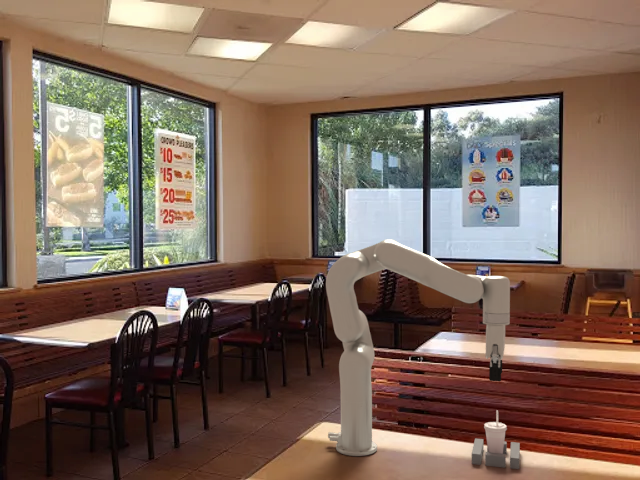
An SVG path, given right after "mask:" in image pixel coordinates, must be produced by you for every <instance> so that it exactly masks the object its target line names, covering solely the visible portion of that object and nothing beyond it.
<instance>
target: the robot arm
mask: <svg viewBox="0 0 640 480" xmlns="http://www.w3.org/2000/svg"><path fill="white" fill-rule="evenodd" d="M385 269H386V270H388V271H391V272H393V273H396V274H399V275H401V276H404V277H406V278H408V279H410V280H413V281H415V282H417V283H419V284H421V285H423V286H426V287H428V288H431V289H433V290H435V291H437V292H440V293H442V294H444V295H446V296H449V297H451V298H453V299H456V300H458V301H461V302H463V303H465V304H474V303H477V302H478V301H480V300H481V299H482V324H483V325H486V328H485V359H486V360H487V359H489V358H490V359H489V361H490V362H489V367H488V368H489V370H488V372H489V373H488V378H489V381H491V382H502V373H503V358H504V353H505V347H506V326H508V325H510V320H511V319H510V318H511V313H510V312H511V308H510V307H511V302H510V301H511V281H510V279H509V277H507V276H502V275H487V276H486V275H485V276H484V275H477V274H465V273H464V272H461V271H458V270H456V269H453V268H451V267H449V266H448V265H445V264H444V263H442V262H441V261H438V260H437V259H436V258H434V257H433V256H431V255H428V254H426V253H423V252H421V251H418V250H416V249H413V248H411V247H408V246H406V245H404V244H401V243H400V242H398V241H397V240H395V239H391V238H389V239H387V238H386V239H383V240H382V241H379V242H378V243H376V244H372V245H369V246H367V247H364V248H361V249H359V250H356V251H353V252H349V253H346V254H344V255H341V256H340V258H339V259H337V260H336V261H335V262H334V263H333V264H332V265H331V266H330V267H329V270H328V272H327V275H326V280H325V290H326V296H327V299H328V305H329V311H330V316H331V320H332V326H333V330H334V334H335V336H336V338H337V339H338V340H340V341H341V342H342V347H343V350H344V351H343V352H342V353H341V356H340V359H339V362H338V363H339V364H338V372H339V383H340V384H339V385H340V387H339V388H340V431H338V433H337V432H333V431H329V432H328V433H327V434H328V435H327V438H328V439H329V441H330V442H336V444H335V449H336V451H337V452H338V453H339V454H343V455H345V456H349V457H351V456H352V457H363V456H369V455H372V454H374V453H375V452H376V451H378V445H377V443H376V442H375V441H373V397H372V396H373V393H372V392H373V391H372V390H373V387H372V366H373V363H374V362H375V355H376V353H375V347H374V344H373V340H372V334H371V332H370V326H369V321H368V318H367V316H366V314H365V313H364V312H363V311H362V310H360V309H359V305H358V301H357V296H356V292H355V289H354V288H355V287H354V285H355V283H356V282H357V281H358V280H360V279H362V278H363V277H366V276H369V275H372V274H374V273H377V272H380V271H383V270H385Z"/></svg>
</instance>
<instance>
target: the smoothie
mask: <svg viewBox="0 0 640 480" xmlns="http://www.w3.org/2000/svg"><path fill="white" fill-rule="evenodd" d="M495 413H496V414H495V416H496V421H488V422H485V423H484V424H483V425H484V426H483V428H484V430H485V436H486V446H487V445H488V452H492V453H501V454H503V447H504V441H505V437H506V431H507V430H508V428H507V425H506V424H505V423H502V422H499V410H497V409H496V411H495Z"/></svg>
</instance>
